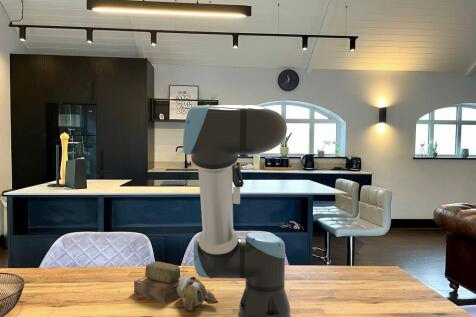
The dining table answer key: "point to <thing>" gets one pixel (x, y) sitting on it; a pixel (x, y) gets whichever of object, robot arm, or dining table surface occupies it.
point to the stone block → (162, 272)
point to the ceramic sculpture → (193, 292)
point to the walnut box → (156, 289)
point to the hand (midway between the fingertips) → (226, 206)
